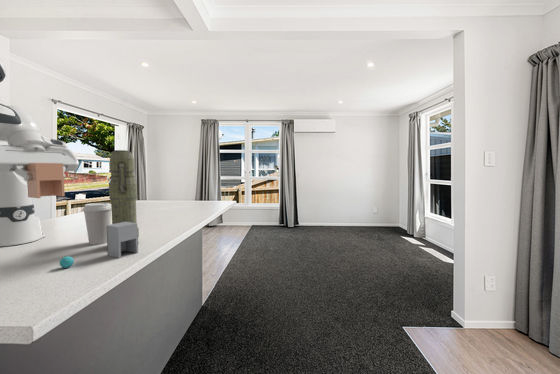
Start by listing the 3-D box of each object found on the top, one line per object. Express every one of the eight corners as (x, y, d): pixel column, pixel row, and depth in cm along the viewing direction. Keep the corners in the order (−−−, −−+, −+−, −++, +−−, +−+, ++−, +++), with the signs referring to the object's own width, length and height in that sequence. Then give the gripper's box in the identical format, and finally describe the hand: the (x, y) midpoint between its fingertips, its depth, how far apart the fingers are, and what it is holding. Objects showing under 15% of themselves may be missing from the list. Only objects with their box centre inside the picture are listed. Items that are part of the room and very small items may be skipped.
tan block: (28, 197, 78) (25, 163, 77) (54, 195, 83) (52, 163, 83) (37, 198, 75) (35, 162, 74) (64, 196, 80) (62, 163, 80)
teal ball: (57, 268, 75) (56, 257, 75) (70, 264, 78) (70, 254, 78) (63, 270, 73) (62, 259, 73) (76, 266, 76) (75, 255, 76)
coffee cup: (99, 246, 96) (97, 205, 95) (77, 245, 98) (75, 205, 97) (119, 239, 105) (118, 202, 104) (99, 238, 107) (98, 202, 106)
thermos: (136, 239, 106) (133, 152, 104) (141, 246, 96) (137, 150, 94) (110, 243, 101) (106, 151, 98) (112, 250, 91) (108, 149, 89)
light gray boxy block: (107, 255, 87) (106, 225, 86) (126, 249, 92) (125, 221, 91) (119, 258, 83) (117, 227, 83) (138, 252, 89) (137, 223, 88)
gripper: (-17, 135, 72) (-1, 171, 68) (71, 142, 90) (87, 171, 86) (-21, 152, 74) (-6, 188, 70) (65, 156, 92) (81, 184, 88)
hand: (46, 179), depth 78 cm, fingers closed on tan block, 6 cm apart
